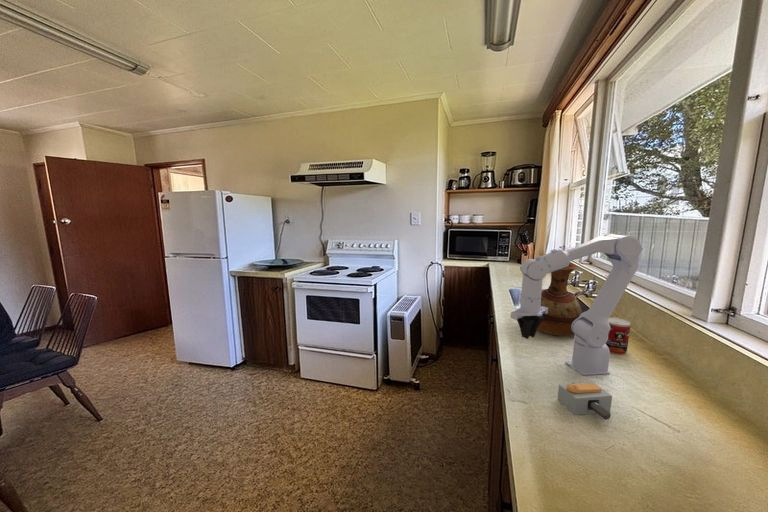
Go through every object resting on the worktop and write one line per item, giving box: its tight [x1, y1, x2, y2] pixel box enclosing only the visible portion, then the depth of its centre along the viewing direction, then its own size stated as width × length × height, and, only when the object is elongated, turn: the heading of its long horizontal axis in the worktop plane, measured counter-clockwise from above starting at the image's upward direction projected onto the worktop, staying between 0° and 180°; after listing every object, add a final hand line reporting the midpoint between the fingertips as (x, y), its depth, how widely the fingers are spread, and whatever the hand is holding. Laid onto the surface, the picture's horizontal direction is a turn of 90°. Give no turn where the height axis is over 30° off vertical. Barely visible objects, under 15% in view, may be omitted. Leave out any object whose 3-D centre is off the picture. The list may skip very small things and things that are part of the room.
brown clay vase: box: [537, 262, 583, 336], centre depth 124 cm, size 20×20×30 cm
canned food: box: [606, 316, 631, 355], centre depth 108 cm, size 8×8×11 cm
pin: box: [588, 400, 612, 421], centre depth 75 cm, size 11×3×3 cm, turn 6°
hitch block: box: [556, 381, 613, 416], centre depth 77 cm, size 10×6×5 cm, turn 96°
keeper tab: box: [567, 382, 603, 393], centre depth 76 cm, size 8×3×1 cm, turn 96°
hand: (527, 336), depth 96 cm, fingers closed
